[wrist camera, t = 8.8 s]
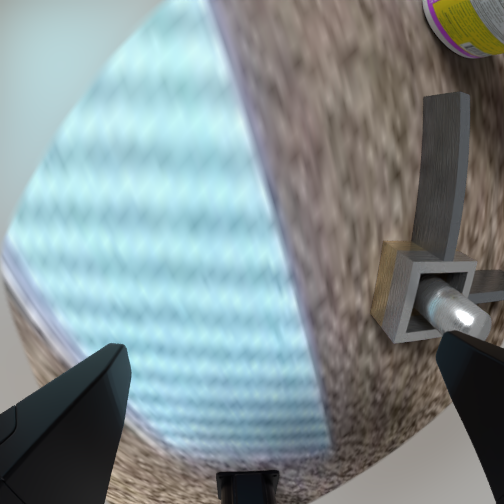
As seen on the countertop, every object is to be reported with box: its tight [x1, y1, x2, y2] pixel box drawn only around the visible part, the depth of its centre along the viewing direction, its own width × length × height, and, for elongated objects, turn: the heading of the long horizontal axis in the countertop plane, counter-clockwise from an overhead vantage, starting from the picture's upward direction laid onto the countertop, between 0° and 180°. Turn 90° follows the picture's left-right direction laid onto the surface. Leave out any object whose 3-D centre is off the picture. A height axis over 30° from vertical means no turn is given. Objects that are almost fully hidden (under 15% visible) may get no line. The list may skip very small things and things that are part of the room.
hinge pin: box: [413, 273, 491, 341], centre depth 17 cm, size 3×3×8 cm
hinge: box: [370, 92, 504, 344], centre depth 18 cm, size 15×13×4 cm
